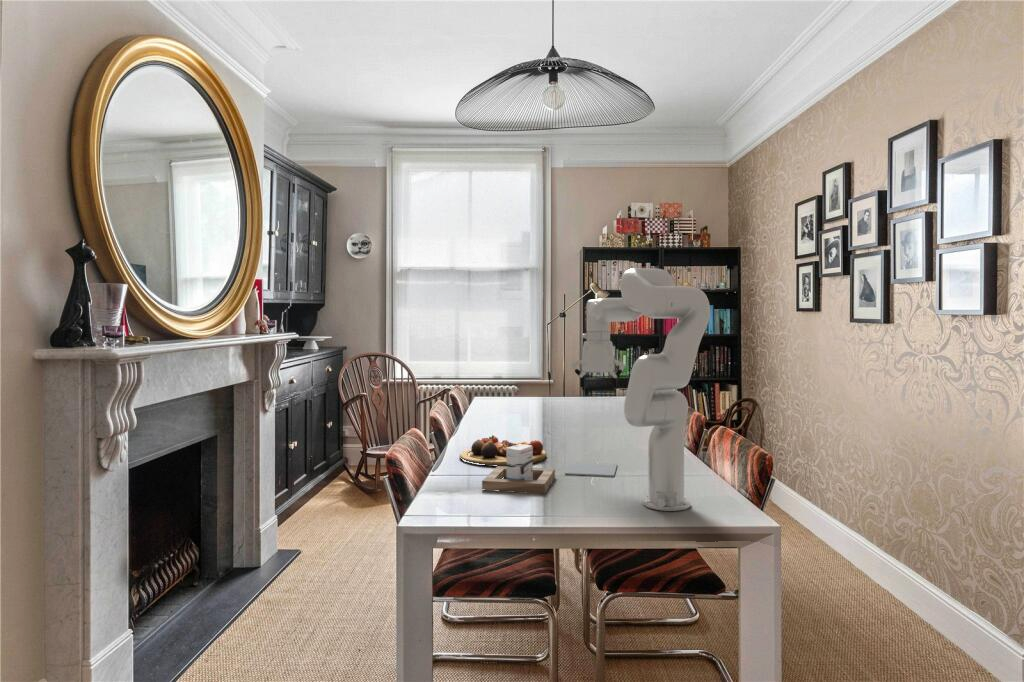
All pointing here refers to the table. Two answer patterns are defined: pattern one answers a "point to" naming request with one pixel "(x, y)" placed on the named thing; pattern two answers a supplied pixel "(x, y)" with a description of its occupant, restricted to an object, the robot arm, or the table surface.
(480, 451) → the wooden plate with food
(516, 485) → the square wooden frame
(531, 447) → the ink box
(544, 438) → the table surface
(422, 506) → the table surface
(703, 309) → the robot arm
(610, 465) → the slate grey mat
